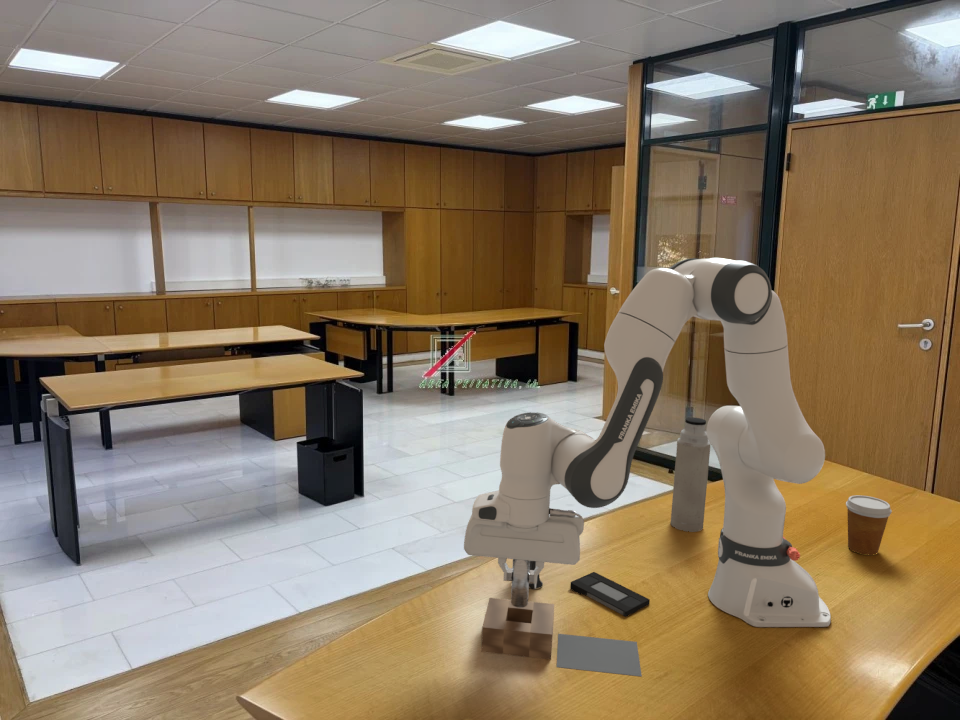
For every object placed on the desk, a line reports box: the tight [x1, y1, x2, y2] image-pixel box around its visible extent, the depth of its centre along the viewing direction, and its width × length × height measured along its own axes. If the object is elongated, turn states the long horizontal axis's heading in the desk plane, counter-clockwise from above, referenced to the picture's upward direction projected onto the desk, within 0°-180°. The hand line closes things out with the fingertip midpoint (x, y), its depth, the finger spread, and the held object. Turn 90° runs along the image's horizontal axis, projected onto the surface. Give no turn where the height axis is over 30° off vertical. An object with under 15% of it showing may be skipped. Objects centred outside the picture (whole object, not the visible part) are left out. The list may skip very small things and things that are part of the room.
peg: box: [510, 559, 530, 608], centre depth 121 cm, size 3×3×10 cm
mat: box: [556, 633, 643, 677], centre depth 120 cm, size 14×10×1 cm
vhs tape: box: [569, 571, 651, 618], centre depth 139 cm, size 8×14×2 cm, turn 40°
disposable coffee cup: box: [845, 494, 892, 556], centre depth 164 cm, size 10×10×12 cm
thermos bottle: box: [670, 416, 712, 533], centre depth 173 cm, size 8×8×28 cm
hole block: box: [481, 597, 555, 660], centre depth 123 cm, size 12×10×5 cm
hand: (520, 580), depth 121 cm, fingers closed on peg, 3 cm apart
